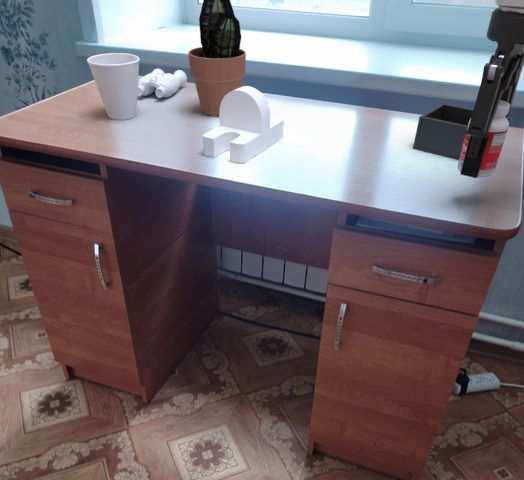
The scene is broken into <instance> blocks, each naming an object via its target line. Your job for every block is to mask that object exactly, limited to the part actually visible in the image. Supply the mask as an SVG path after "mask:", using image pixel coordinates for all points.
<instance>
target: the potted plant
mask: <svg viewBox="0 0 524 480" xmlns="http://www.w3.org/2000/svg"><path fill="white" fill-rule="evenodd" d="M198 23H199V25H198V26H199V38H200V44H201V46H199V47H195V48H192V49H190V50H188V53H187V54H188V64H189V73H190V76H191V77H192V78H193V80H194V84H195V89H196V93H197V96H198V101H199V105H200V109H201V112H202V113H203V114H205V115H207V116H212V117H220V115H219V112H220V105H221V101H222V100H223V98H224V96H225V95H226V94H228V93H229V92H231V91H233V90H235V89H237V88H240V87H242V82H243V78H244V77H245V76H246V61H247V58H246V57H247V53H246V50H244V49H242V48H241V41H242V32H241V24H240V20H238V18H237V17H236V16H235V12H234V8H233V5H232V2H231V0H203V1H202V5H201V9H200V13H199V18H198Z"/></svg>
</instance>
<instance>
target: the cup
mask: <svg viewBox="0 0 524 480" xmlns="http://www.w3.org/2000/svg"><path fill="white" fill-rule="evenodd" d="M140 60H141V58H140V57H139V56H138V55H136V54H132V53H126V52H125V53H124V52H123V53H122V52H111V53H99V54H95V55H91V56H89V57H88V58H87V59H86V63H87V65H88V66H89V69H90V72H91V74H92V77H93V79H94V82H95V85H96V88H97V90H98V93H99V95H100V98H101V102H102V104H103V106H104V109H105V112H106V115H107V117H108V118H109V119H111V120H114V121H117V120H118V121H126V120H131V119H134V118H136V117H137V112H138V111H137V110H138V96H137V94H138V81H139V75H140V73H139V72H140Z"/></svg>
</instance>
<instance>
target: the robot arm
mask: <svg viewBox="0 0 524 480" xmlns="http://www.w3.org/2000/svg"><path fill="white" fill-rule="evenodd" d="M494 1H495V4H496V5H497V6H498V7H497V8H494V10H493V11H491V15H490V19H489V24H488V28H487V31H486V38H487V40H489V41H491V42H496V44H497V47H496V49H495V52H494V54H492V55H491V56H490V58H489V61H488V62H486V63H485V64H484V66H483V71H482V77H481V82H480V85H479V89H478V93H477V96H476V99H475V103H474V107H473V109H474V110H473V113H472V117H471V120H470V124H469V128H468V130H466V132H465V134H466V135H470V139H469V143H468V147H467V150H466V154H465V158H464V162H463V166H462V169H461V172H459V173H460V174H459V175H461V176H466V177H469V178H474V179H477V178H479V177H478V173H479V170H480V167H481V163H482V160H483V156H484V153H485V149H486V146H487V142H488V139H489V137H488V132H489V129H490V127H491V124H492V121H493V118H494V115H495V113H496V110H497V107H498V104H499V101H500V100H502V101H506V102H508V103H509V104H510V107H509V111H508V114H507V115H506V116H505V118H506V119H507V120H508V122H509V123H510V120H511V119H510V118H508V117H510V114H511V108H512V104H513V101H514V98H515V94H516V91H517V87H518V84H519V80H520V77H521V74H522V71H523V67H524V0H494Z"/></svg>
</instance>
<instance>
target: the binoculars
mask: <svg viewBox="0 0 524 480" xmlns="http://www.w3.org/2000/svg"><path fill="white" fill-rule="evenodd" d="M187 81H188V77H187V73H186V72H185V71H183V70H181V69H178V70H175V71H174V72H173V74H172V73H169V72H167V73H165V72H164V70H162V69H161V68H154V69H153V70H152V71H151V72H150V73H147V74H146V75H144V76H142V77H140V79H138V94H137V97H141V96H144V97H148V96H150V95H152V94H153V93H154V94H155V96H156V97H157V98H159V99H161V98H170V97H171V96H173V94H175V93H176V92H177V91H179V88H180V87H183V86H185V85H186V84H187Z"/></svg>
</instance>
